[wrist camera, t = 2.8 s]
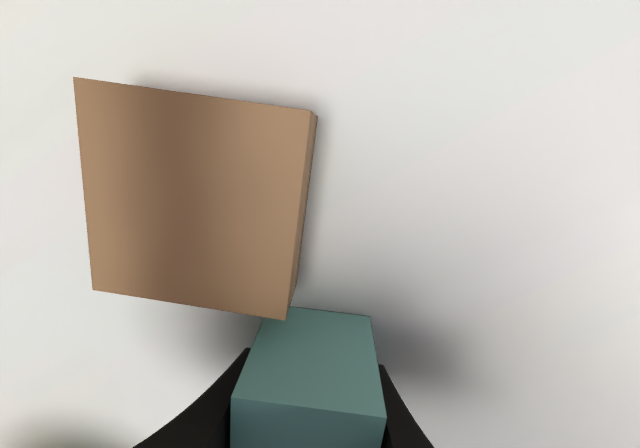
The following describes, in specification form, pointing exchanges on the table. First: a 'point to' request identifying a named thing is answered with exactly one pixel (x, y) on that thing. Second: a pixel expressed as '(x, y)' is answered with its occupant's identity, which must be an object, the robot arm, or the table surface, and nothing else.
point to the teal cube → (310, 385)
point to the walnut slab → (193, 196)
